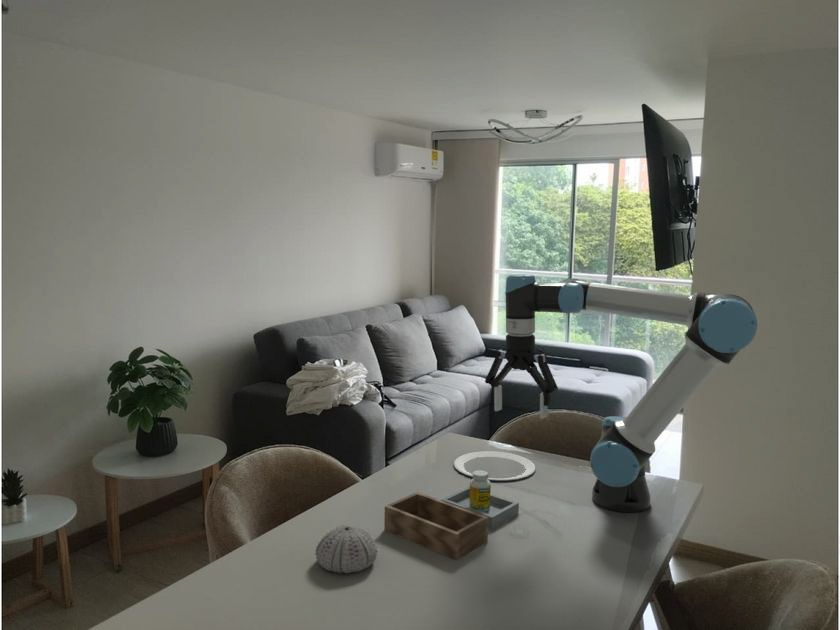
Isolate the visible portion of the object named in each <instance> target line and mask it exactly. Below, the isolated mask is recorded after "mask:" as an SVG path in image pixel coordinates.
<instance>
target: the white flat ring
mask: <svg viewBox="0 0 840 630" xmlns="http://www.w3.org/2000/svg"><path fill="white" fill-rule="evenodd" d="M477 457H478V458H488V457H489V458H491V457H493V458H501V459H502V458H503V459H508V460H511V461H515V462H516V463H517V462H518V463H519V464H521V465H522V466H523V465H524V466H523V468H524V471H525V472H524V471H523V472H524V473H523V472H522V473H521V474H522V475H521V474H519V475H515V476H516V477H515V476H513V477H512V476H511V477H504V478H501V477H500V478H498V477H496V478H495V477H488V480H489V481H490V482H512V481H518V480H521V479H526V478H528V477H530V476H532V475H533V474H534V473H535V471H536V465H535V464H534V463H533V461H531V460H529V458H526V457H523V456H521V455H518V454H514V453H510V452H503V451H493V450H492V451H491V450H490V451H487V450H486V451H483V450H482V451H474V452H468V453H465V454H463V455H461V456H458V457H457V458H456V459H454V463H453V466H454V469H456V471H458V472H459V473H461V474H462V475H465V476H467V477H469V478H473V477H472V476H473V473H472V472H470V471H468V470H467V469H466V468H465V464H466V463H467V462H468V461H470V460H473V459H478V458H477ZM464 463H465V464H464ZM465 469H466V470H467V471H468V472H467V471H466V470H465ZM525 469H526V470H525ZM469 472H470V473H469ZM471 473H472V474H471Z"/></svg>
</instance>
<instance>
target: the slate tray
mask: <svg viewBox="0 0 840 630" xmlns="http://www.w3.org/2000/svg"><path fill="white" fill-rule="evenodd" d="M440 500H441V501H444V502H447V503H450V504H453V505H455V506H458V507H461V508H464V509H467V510H469V511H472V512H475V513H478V514H481V515H483V516H486V517H488V529H489V530H493V529H495V528H496V527H498V526H500V525H503V524H504V523H506V522H507V521H509V520H510V519H512V518H513V517H516V516H517V515H519V511H520V510H519V505H520V503H519V502H516V501H514V500H511V499H508V498H505V497H503V496H499V495H497V494H494V493H490V509H489V510H488V511H486V512H481V511H478V510H475V509H472V508H470V486H467V487H464V488H462V489H460V490H458V491H456V492H454V493H452V494H450V495H447V496H446V497H443V498H441V499H440Z"/></svg>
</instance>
